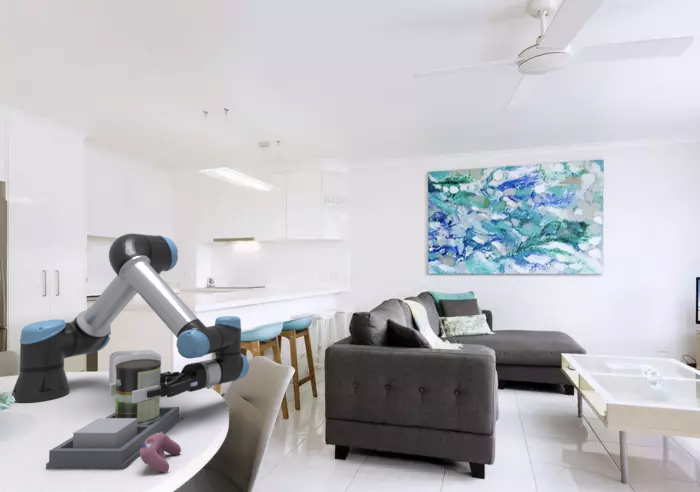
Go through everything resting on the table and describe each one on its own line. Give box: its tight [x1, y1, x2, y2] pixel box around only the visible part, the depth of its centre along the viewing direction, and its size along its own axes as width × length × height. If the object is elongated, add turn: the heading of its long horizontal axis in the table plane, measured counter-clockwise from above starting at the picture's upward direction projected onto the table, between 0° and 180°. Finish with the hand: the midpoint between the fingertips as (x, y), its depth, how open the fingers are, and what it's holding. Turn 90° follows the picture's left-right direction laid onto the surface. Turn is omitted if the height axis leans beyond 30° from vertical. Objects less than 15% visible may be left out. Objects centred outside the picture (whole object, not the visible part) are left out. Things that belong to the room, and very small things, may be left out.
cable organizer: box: [108, 348, 162, 384], centre depth 153 cm, size 15×11×12 cm
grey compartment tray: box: [45, 406, 185, 470], centre depth 104 cm, size 16×30×6 cm, turn 179°
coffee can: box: [114, 359, 162, 425], centre depth 111 cm, size 10×10×14 cm
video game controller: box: [139, 432, 182, 473], centre depth 92 cm, size 10×5×7 cm, turn 6°
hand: (121, 393), depth 107 cm, fingers closed on coffee can, 10 cm apart
